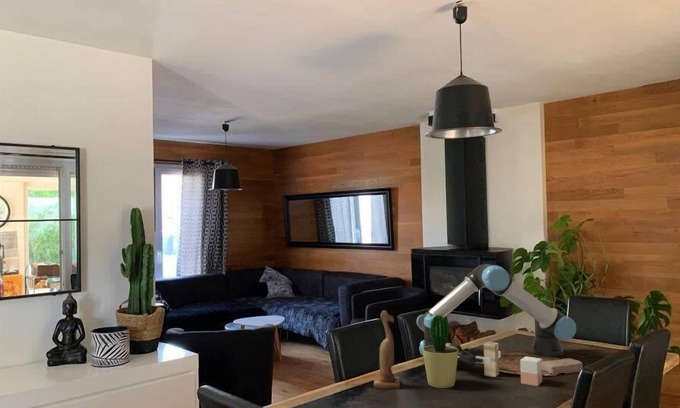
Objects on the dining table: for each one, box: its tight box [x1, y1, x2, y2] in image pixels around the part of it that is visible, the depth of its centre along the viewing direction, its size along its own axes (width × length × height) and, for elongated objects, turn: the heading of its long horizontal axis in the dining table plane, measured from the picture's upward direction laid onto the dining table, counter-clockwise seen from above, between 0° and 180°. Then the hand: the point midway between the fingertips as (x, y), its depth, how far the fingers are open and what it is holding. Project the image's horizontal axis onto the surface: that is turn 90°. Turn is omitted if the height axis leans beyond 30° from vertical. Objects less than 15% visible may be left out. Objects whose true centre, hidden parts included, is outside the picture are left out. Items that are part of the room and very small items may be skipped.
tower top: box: [519, 356, 543, 374], centre depth 222 cm, size 7×7×5 cm
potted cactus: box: [422, 315, 459, 389], centre depth 222 cm, size 15×15×30 cm
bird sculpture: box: [373, 310, 401, 390], centre depth 222 cm, size 11×12×32 cm
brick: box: [542, 357, 584, 374], centre depth 238 cm, size 17×8×5 cm, turn 105°
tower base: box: [520, 371, 543, 387], centre depth 221 cm, size 7×7×5 cm
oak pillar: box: [483, 341, 500, 378], centre depth 233 cm, size 5×5×14 cm
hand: (495, 357), depth 232 cm, fingers open, 13 cm apart
